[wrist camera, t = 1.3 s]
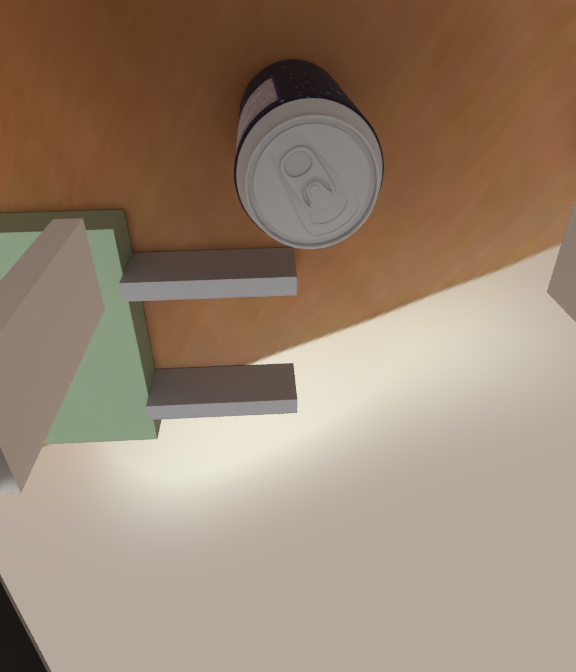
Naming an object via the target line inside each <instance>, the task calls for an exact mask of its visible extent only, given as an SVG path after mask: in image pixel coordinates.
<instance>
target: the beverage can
mask: <svg viewBox="0 0 576 672" xmlns="http://www.w3.org/2000/svg"><path fill="white" fill-rule="evenodd" d="M383 172H384V162H383V154H382V149H381V145H380V142H379V140H378V137H377V135H376V133H375V131H374V129H373V128H372V126H371V125H370V123H369V122H368V121H367V120H366V118H365V117H364V116H363V115H362V113H361V112H360V111H359V110H358V109H357V107H356V106H355V105H354V104H353V103H352V101H351V100H350V99H349V98H348V97H347V95H346V94H345V93H344V92H343V91H342V89H341V88H340V87H339V86H338V84H337V83H336V82H335V81H334V80H333V78H332V77H331V76H330V75H329V74H328V73H327V72H326V71H324V70H323V69H322V68H320V67H318V66H317V65H314V64H312V63H310V62H306V61H302V60H285V61H280V62H277V63H274V64H272V65H270V66H268V67H266V68H265V69H263V70H262V71H261V72H260V73H258V74H257V75H256V76H255V77H254V79H253V80H252V81H251V82H250V84H249V85H248V87H247V89H246V91H245V93H244V95H243V98H242V101H241V105H240V113H239V123H238V134H237V145H236V156H235V166H234V180H235V187H236V191H237V195H238V198H239V200H240V203H241V205H242V207H243V209H244V210H245V212H246V214H247V215H248V216H249V218H250V219H251V220H252V221H253V222H254V223H255V224H256V225H257V226H258V227H259V228H260V229H261V230H263V231H264V232H265V233H267V234H268V235H269V236H270V237H272V238H273V239H275V240H276V241H278V242H280V243H283V244H285V245H287V246H291V247H295V248H301V249H318V248H324V247H328V246H331V245H334V244H337V243H339V242H341V241H343V240H345V239H346V238H348V237H349V236H351V235H352V234H353V233H354V232H356V231H357V230H358V229H359V228H360V227H361V226H362V225H363V223H364V222H365V221H366V220H367V218H368V217H369V215H370V213H371V212H372V210H373V208H374V205H375V203H376V200H377V197H378V195H379V192H380V189H381V185H382V180H383Z"/></svg>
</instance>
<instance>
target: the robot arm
mask: <svg viewBox="0 0 576 672" xmlns="http://www.w3.org/2000/svg"><path fill="white" fill-rule="evenodd" d="M547 293H548V294H549V295H550V296H551V297H552V298H553V299H554V300H555V301H556V302H557V303H558V304H559V305H560V306H561V307H562V308H563V309H564V310H565V311H566V312H567V313H568V314H569V316H571V318H572V319H573V320H574V321H575V322H576V203H574V204H573V208H572V211H571V214H570V217H569V221H568V224H567V227H566V231H565V234H564V237H563V241H562V244H561V247H560V251H559V254H558V257H557V261H556V264H555V267H554V271H553V274H552V277H551V280H550V284H549V287H548V291H547ZM104 310H105V308H104V304H103V299H102V295H101V291H100V287H99V283H98V279H97V274H96V270H95V266H94V262H93V258H92V254H91V249H90V245H89V241H88V237H87V233H86V229H85V225H84V220H83V218H76V219H53V220H52V221H51V222H50V224H49V225H48V226H47V227H46V228H45V229H44V231H43V232H42V233H41V234H40V235H39V236H38V238H37V239H36V240H35V241H34V242H33V243H32V245H31V246H30V247H29V248H28V249H27V250H26V252H25V253H24V254H23V255H22V256H21V258H20V259H19V260H18V261H17V262H16V263H15V265H14V266H13V267H12V268H11V269H10V270H9V272H8V273H7V274H6V275H5V276H4V277H3V279H2V280H1V281H0V494H13V493H21V492H22V490H23V487H24V485H25V483H26V481H27V479H28V476H29V474H30V472H31V470H32V468H33V465H34V463H35V461H36V459H37V457H38V454H39V452H40V450H41V448H42V446H43V444H44V441H45V439H46V437H47V435H48V433H49V430H50V428H51V426H52V424H53V422H54V419H55V417H56V415H57V413H58V411H59V408H60V406H61V404H62V402H63V400H64V397H65V395H66V393H67V391H68V389H69V387H70V384H71V382H72V380H73V378H74V376H75V373H76V371H77V369H78V367H79V365H80V362H81V360H82V358H83V356H84V354H85V351H86V349H87V347H88V345H89V343H90V340H91V338H92V336H93V334H94V332H95V330H96V327H97V325H98V323H99V321H100V319H101V316H102V314H103V312H104ZM0 672H51V670H50V668H49V666H48V664H47V663H46V661H45V659H44V657H43V655H42V653H41V651H40V649H39V647H38V645H37V643H36V642H35V640H34V638H33V636H32V634H31V632H30V630H29V628H28V626H27V624H26V623H25V621H24V619H23V617H22V615H21V613H20V612H19V609H18V608H17V606H16V604H15V602H14V600H13V598H12V596H11V594H10V592H9V590H8V588H7V587H6V585H5V583H4V581H3V579H2V577H1V575H0Z"/></svg>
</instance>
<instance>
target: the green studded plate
mask: <svg viewBox="0 0 576 672" xmlns="http://www.w3.org/2000/svg"><path fill="white" fill-rule="evenodd" d="M76 218H83V220H84V225H85V229H86V233H87V237H88V241H89V245H90V249H91V254H92V258H93V262H94V266H95V270H96V274H97V279H98V283H99V287H100V291H101V295H102V299H103V304H104V308H105V310H104V312H103V314H102V316H101V319H100V321H99V323H98V325H97V327H96V330H95V332H94V334H93V336H92V338H91V340H90V343H89V345H88V347H87V349H86V351H85V354H84V356H83V358H82V360H81V362H80V365H79V367H78V369H77V371H76V373H75V376H74V378H73V380H72V382H71V384H70V387H69V389H68V391H67V393H66V395H65V397H64V400H63V402H62V404H61V406H60V408H59V411H58V413H57V415H56V417H55V419H54V422H53V424H52V426H51V428H50V430H49V433H48V435H47V437H46V439H45V441H44V444H63V443H83V442H104V441H124V440H145V439H157V438H158V433H159V428H160V423H161V419H178V418H198V417H220V416H241V415H263V414H284V413H297V394H296V386H295V375H294V367H293V363H289V364H267V365H243V366H219V367H196V368H173V369H155V366H154V361H153V356H152V350H151V345H150V340H149V335H148V330H147V325H146V319H145V314H144V309H143V304H142V301H156V300H182V299H209V298H235V297H262V296H288V295H297V274H296V267H295V261H294V254H293V247H284V248H254V249H225V250H195V251H166V252H136V253H132V247H131V242H130V237H129V232H128V227H127V222H126V216H125V211H124V209H121V210H89V211H56V212H23V213H0V281H1V280H2V279H3V277H4V276H5V275H6V274H7V273H8V272H9V270H10V269H11V268H12V267H13V266H14V265H15V263H16V262H17V261H18V260H19V259H20V258H21V256H22V255H23V254H24V253H25V252H26V250H27V249H28V248H29V247H30V246H31V245H32V243H33V242H34V241H35V240H36V239H37V238H38V236H39V235H40V234H41V233H42V232H43V231H44V229H45V228H46V227H47V226H48V225H49V224H50V222H51V221H52V220H53V219H76Z"/></svg>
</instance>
